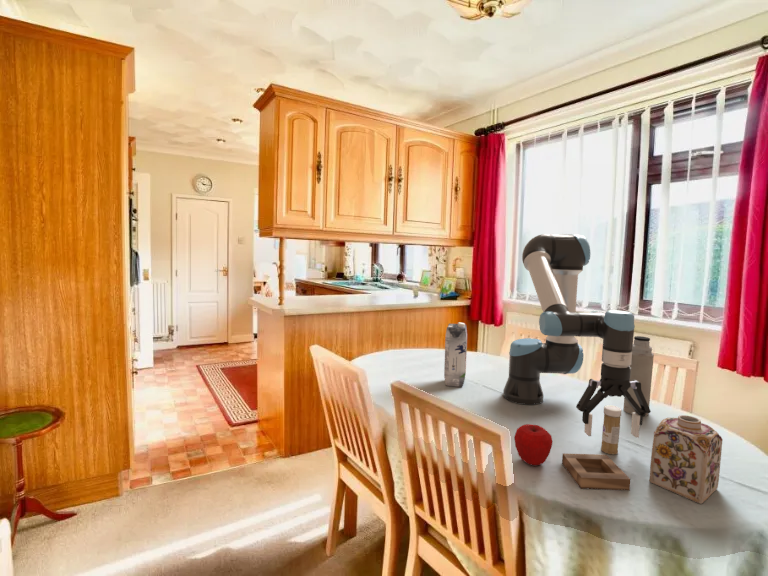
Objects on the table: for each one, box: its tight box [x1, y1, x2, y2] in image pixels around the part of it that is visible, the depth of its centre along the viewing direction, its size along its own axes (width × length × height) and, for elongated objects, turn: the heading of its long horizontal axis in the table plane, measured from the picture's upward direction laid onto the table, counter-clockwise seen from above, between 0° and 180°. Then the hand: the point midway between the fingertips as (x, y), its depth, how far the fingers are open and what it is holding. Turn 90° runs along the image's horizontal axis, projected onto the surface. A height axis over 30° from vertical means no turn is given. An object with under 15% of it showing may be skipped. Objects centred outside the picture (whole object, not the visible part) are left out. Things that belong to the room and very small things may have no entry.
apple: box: [513, 423, 553, 467], centre depth 115 cm, size 10×10×11 cm
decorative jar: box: [648, 415, 723, 505], centre depth 105 cm, size 12×12×18 cm
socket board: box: [561, 452, 631, 492], centre depth 109 cm, size 12×12×3 cm
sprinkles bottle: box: [600, 404, 622, 455], centre depth 122 cm, size 5×5×14 cm
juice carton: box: [443, 321, 468, 388], centre depth 179 cm, size 9×10×27 cm
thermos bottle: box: [623, 335, 654, 417], centre depth 151 cm, size 8×8×28 cm
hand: (611, 434), depth 122 cm, fingers open, 13 cm apart
